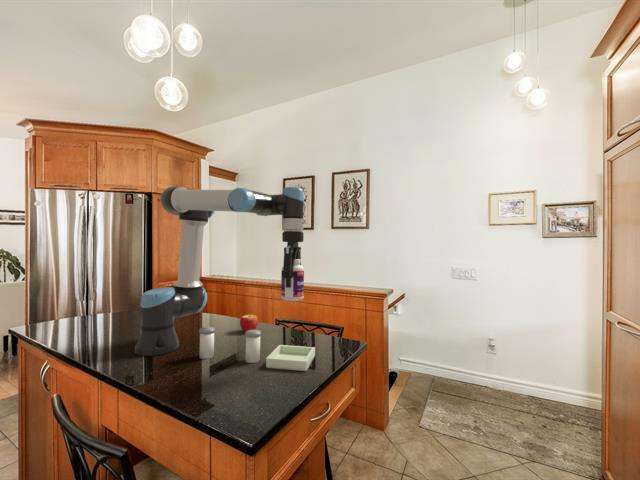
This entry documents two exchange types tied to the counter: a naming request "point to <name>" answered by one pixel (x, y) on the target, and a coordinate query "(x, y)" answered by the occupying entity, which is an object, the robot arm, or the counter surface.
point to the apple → (248, 322)
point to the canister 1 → (206, 342)
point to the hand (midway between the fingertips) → (292, 294)
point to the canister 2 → (253, 346)
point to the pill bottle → (294, 283)
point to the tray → (291, 357)
